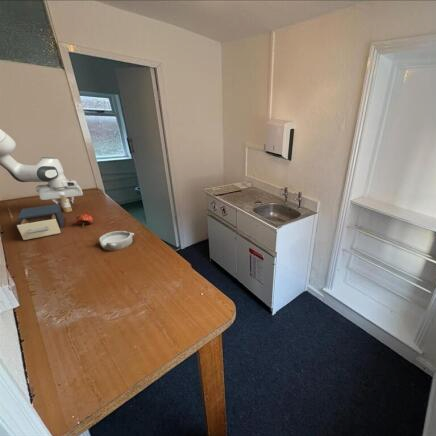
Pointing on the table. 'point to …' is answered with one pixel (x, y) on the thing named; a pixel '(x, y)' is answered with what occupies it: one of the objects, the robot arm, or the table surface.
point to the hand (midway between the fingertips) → (65, 204)
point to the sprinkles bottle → (65, 203)
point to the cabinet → (42, 213)
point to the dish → (116, 240)
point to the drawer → (39, 226)
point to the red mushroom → (84, 219)
